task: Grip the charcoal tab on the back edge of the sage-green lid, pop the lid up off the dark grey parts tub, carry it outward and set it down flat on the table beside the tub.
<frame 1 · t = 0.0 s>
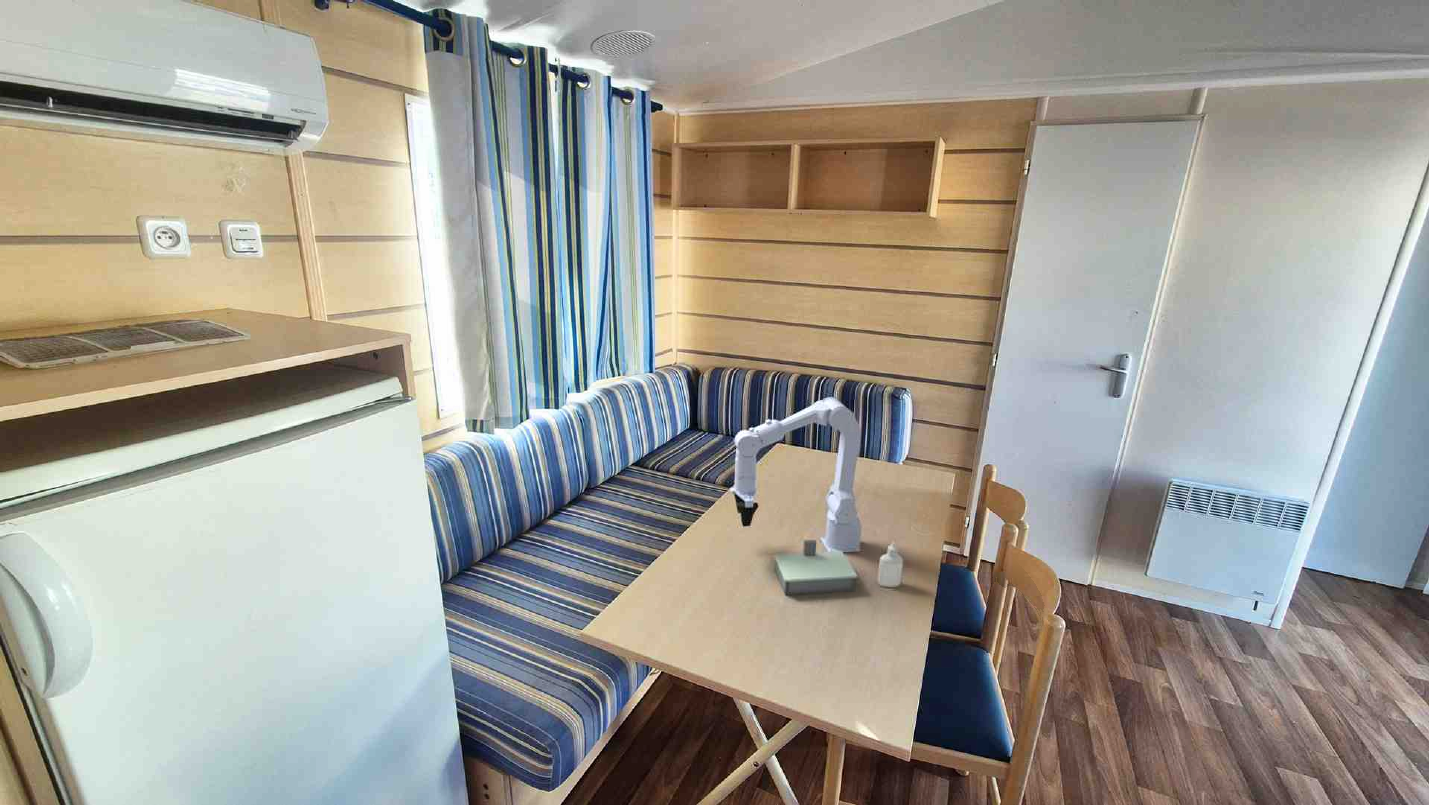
hand: (743, 518, 160), 10 cm above the table, tool pointing down, fingers open, 7 cm apart
parts tub: (813, 580, 150), on the table
tub lid: (814, 566, 149), point 4 cm above the table, touching parts tub
eye dropper bottle: (888, 584, 149), on the table
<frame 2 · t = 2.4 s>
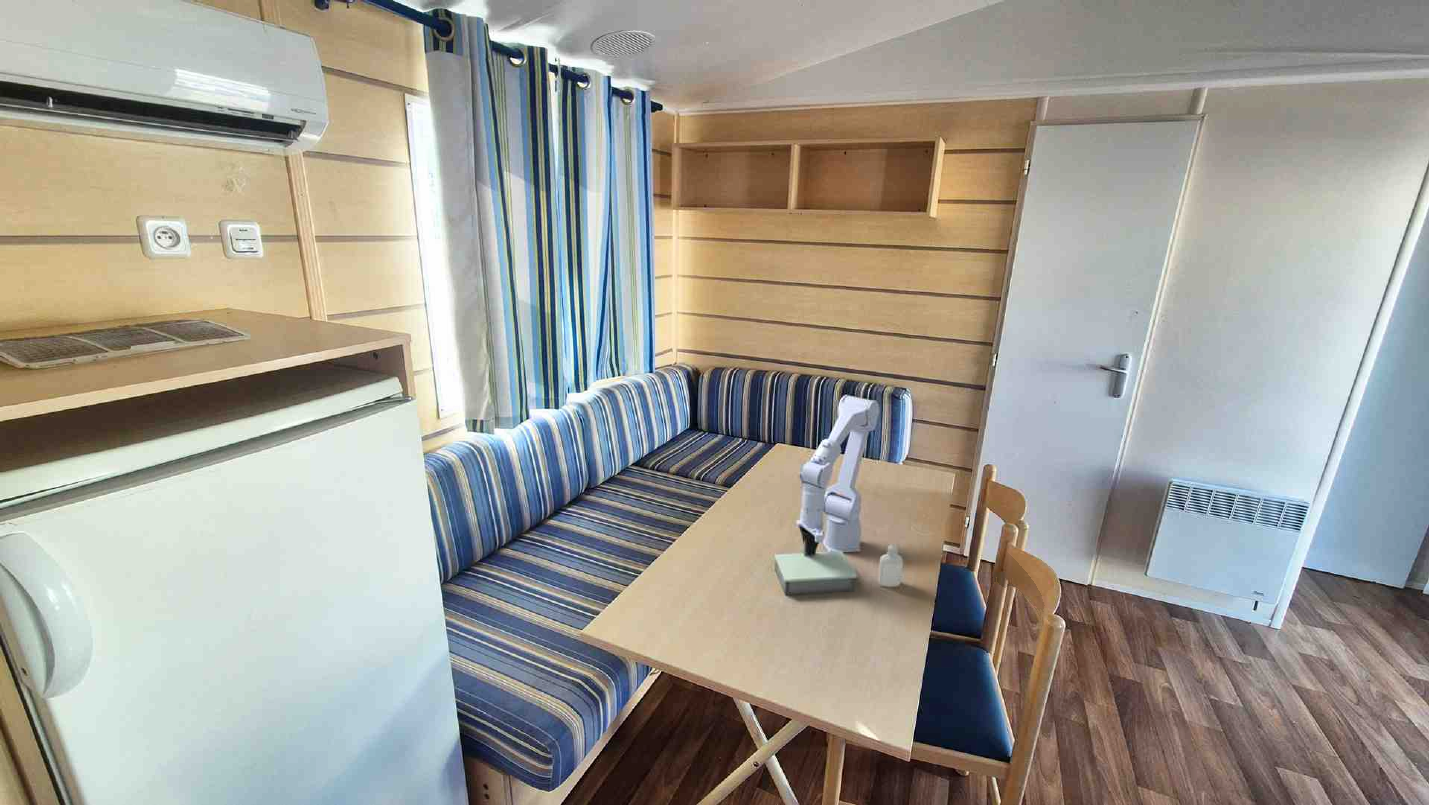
hand: (809, 552, 153), 5 cm above the table, tool pointing down, fingers closed on tub lid
tub lid: (814, 566, 149), point 4 cm above the table, touching gripper, parts tub
everything else where it was.
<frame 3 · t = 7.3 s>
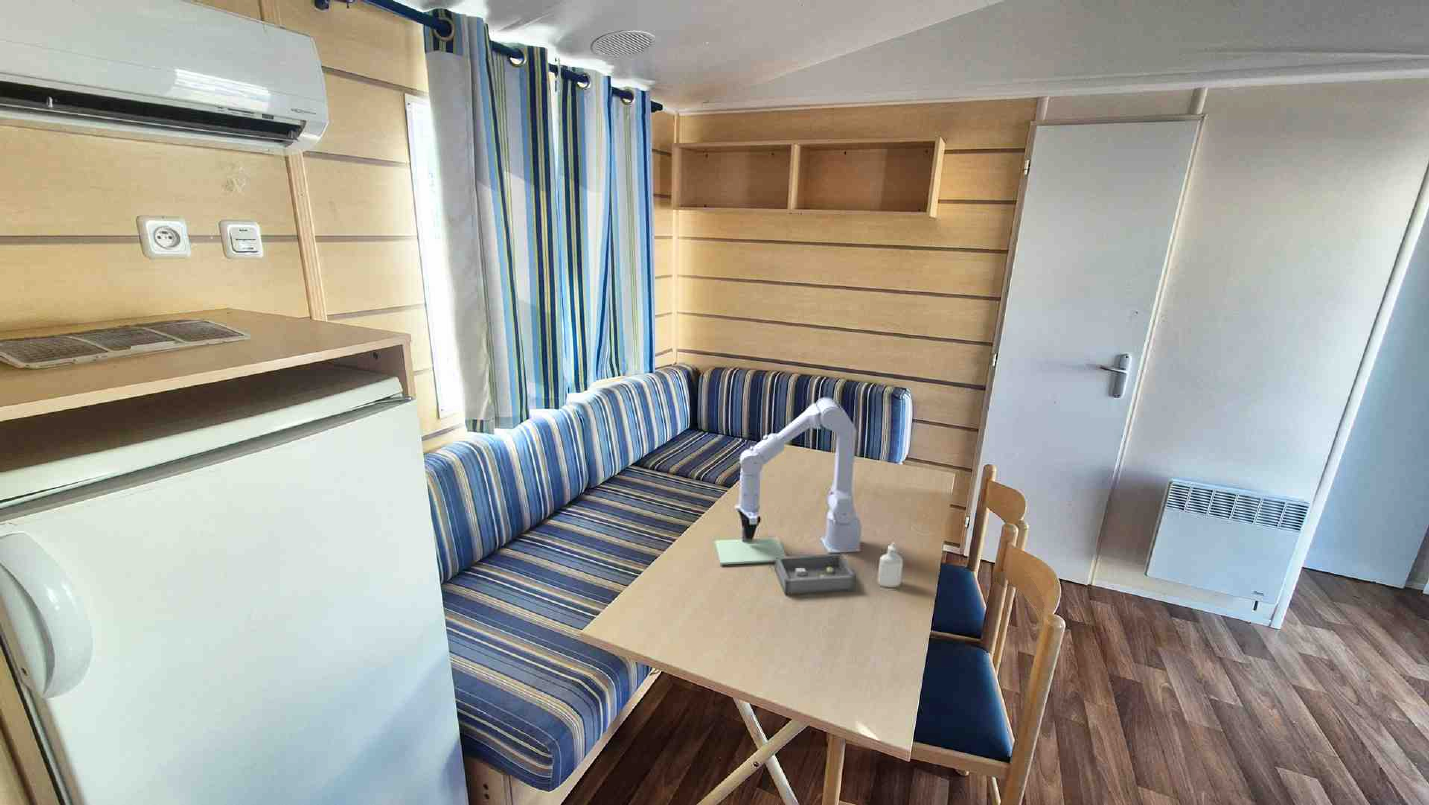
hand: (747, 534, 165), 3 cm above the table, tool pointing down, fingers open, 3 cm apart
tub lid: (750, 551, 162), point 1 cm above the table
everything else where it was.
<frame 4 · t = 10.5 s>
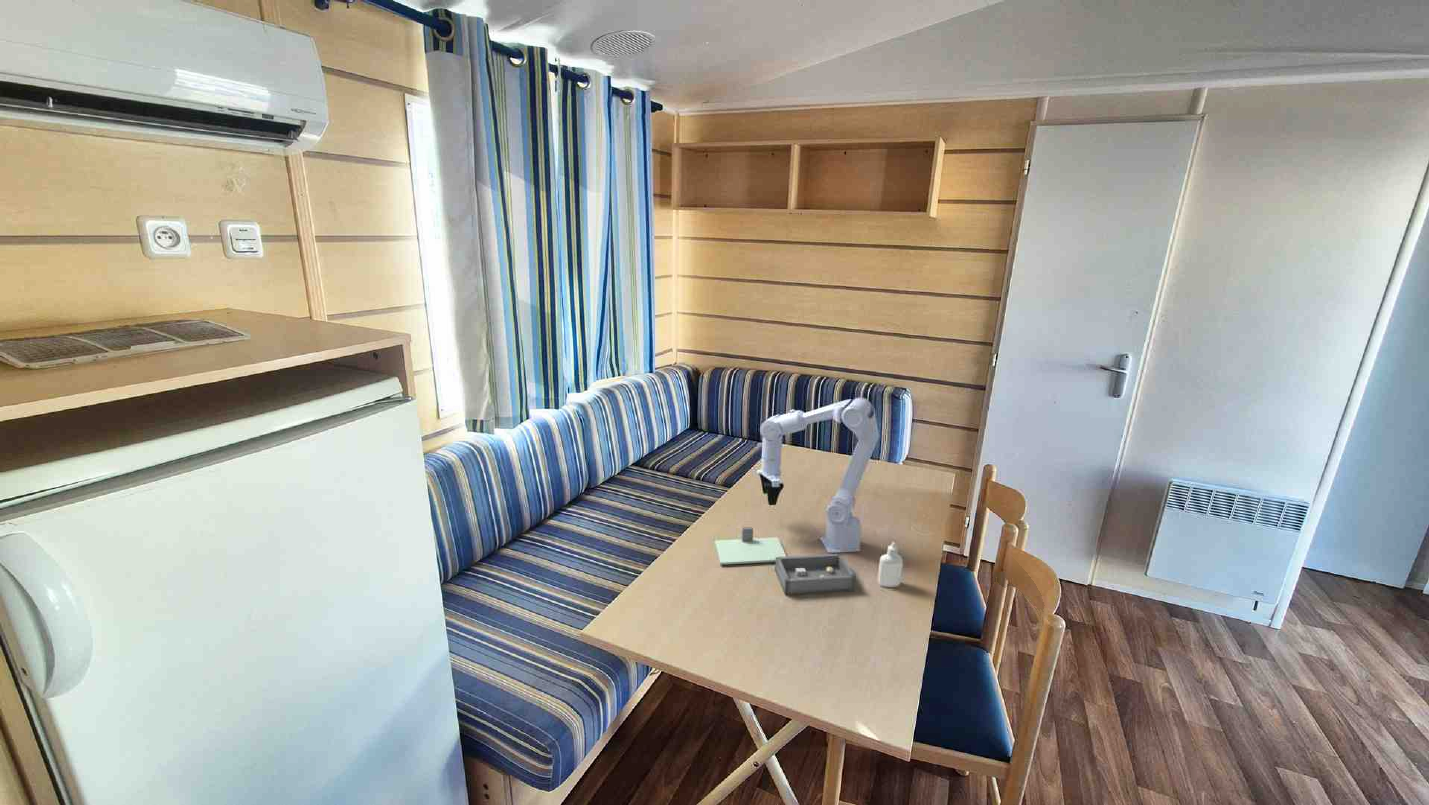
hand: (769, 498, 173), 10 cm above the table, tool pointing down, fingers open, 7 cm apart
nothing on the table moved.
at the end: tub lid inside the target area (0.5 cm from its centre), point 0.6 cm above the table; tub lid moved 20.5 cm from its start; the gripper is holding nothing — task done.
